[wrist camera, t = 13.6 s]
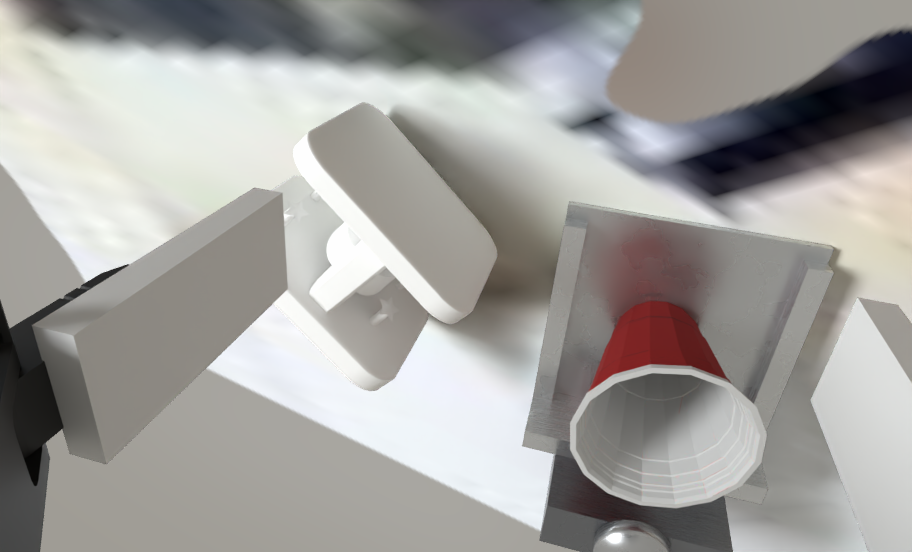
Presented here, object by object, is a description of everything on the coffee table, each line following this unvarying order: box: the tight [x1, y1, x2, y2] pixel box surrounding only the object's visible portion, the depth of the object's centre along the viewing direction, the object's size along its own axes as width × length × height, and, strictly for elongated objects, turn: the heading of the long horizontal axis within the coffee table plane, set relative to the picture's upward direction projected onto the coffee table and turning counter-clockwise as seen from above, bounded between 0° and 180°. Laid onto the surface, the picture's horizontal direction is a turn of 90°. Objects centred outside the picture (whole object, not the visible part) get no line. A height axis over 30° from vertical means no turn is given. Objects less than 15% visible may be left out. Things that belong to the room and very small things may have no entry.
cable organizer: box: [271, 103, 498, 391], centre depth 42 cm, size 15×11×12 cm
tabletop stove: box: [522, 201, 834, 552], centre depth 42 cm, size 22×17×12 cm
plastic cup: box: [570, 301, 767, 508], centre depth 40 cm, size 11×11×12 cm
